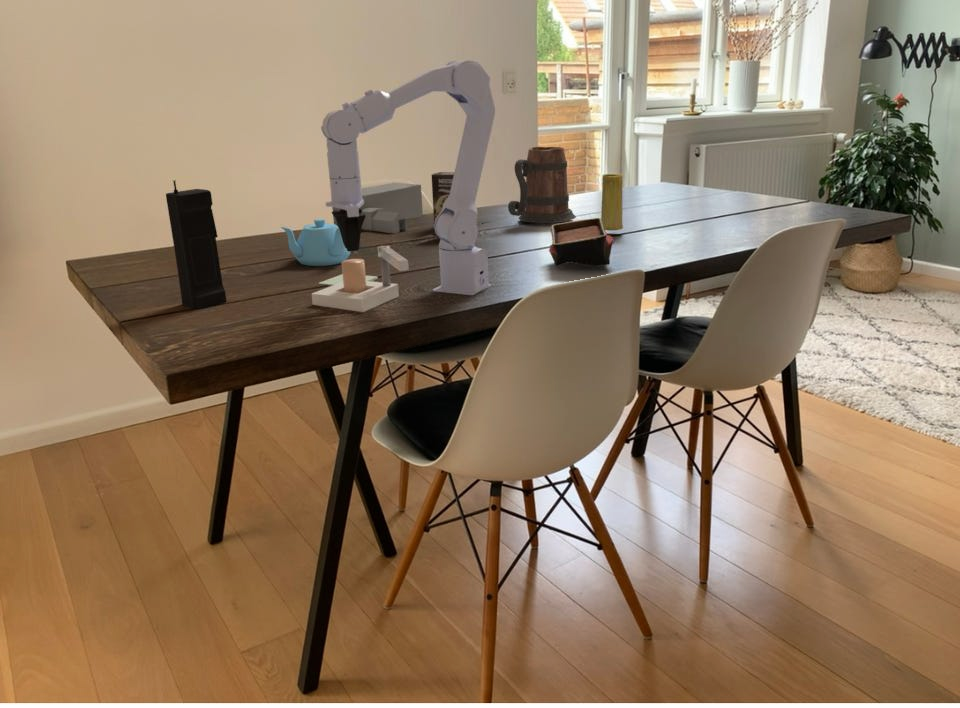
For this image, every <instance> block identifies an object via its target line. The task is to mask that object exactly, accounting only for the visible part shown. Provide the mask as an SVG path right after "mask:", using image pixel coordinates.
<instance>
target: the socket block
mask: <svg viewBox="0 0 960 708" xmlns="http://www.w3.org/2000/svg"><path fill="white" fill-rule="evenodd" d="M380 268H381V282H379V281H366V286H367V290H366V291H364V292H361V293H359V294H357V293H348V292H344V285H343V282H341V283H338V284H335V285H333V286H330V285H329V286H328V287H325V288H322V289H320V290H317V291H315V292H312V293H311V300H312V302H311V303H312V305H313V306H318V307H325V308H326V307H327V308H334V309H340V310H347V311H353V312H359V313H364V312H367V311H369V310H373V309H374V308H377V307H378V306H381V305H383V304H385V303H387V302H389V301H392V300H393V299H396V298H398V297H400V293H399V284H398V283H391V271H390V268H391V267H390V263H389V262H387V261H386V260H384V259H383V258H382V257H380Z"/></svg>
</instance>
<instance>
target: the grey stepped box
mask: <svg viewBox="0 0 960 708" xmlns="http://www.w3.org/2000/svg"><path fill="white" fill-rule="evenodd" d="M361 189H362V199H363V200H364V204H363V205H362V206H361V207H360V209H361V210H362V212H361V214H365V215H366V217H365V220H364V222H363V225H362V228H361V230H365V231H371V232H372V231H373V232H381V233H388V234H399V233H400V232H401V231H405V232H407V231H408V221H407V220H412V219H416V218H422V217H424V212H423V197H422V195H423V194H422V185H421V184H413V183H401V182H391V183H386V184H379V185H376V186H375V185H374V186H369V187H364V188H361ZM330 199H331V200H332V198H330ZM331 209H332V212H333V211H340V208H335V207H331ZM332 218H333V224H335V225H337V226H338V224H337V222H336V219H335V218H334V216H333V215H332Z"/></svg>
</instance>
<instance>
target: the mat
mask: <svg viewBox="0 0 960 708" xmlns="http://www.w3.org/2000/svg"><path fill="white" fill-rule="evenodd" d="M378 279H379V276H375V275H374V276H373V275H366V281H372V282H375V281H376V280H378ZM341 282H343V274H342V273H341V274H339V275H336V276H334V277H331V278H328V279H325V280H324V281H323V280H322V281H320V282H318V285H323V286H329V287H330V286H333V285H335V284H338V283H341Z"/></svg>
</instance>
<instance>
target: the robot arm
mask: <svg viewBox="0 0 960 708" xmlns="http://www.w3.org/2000/svg"><path fill="white" fill-rule="evenodd" d="M490 84H491V77H490V75H489V74H488V72H486V70H485V69H484V67H483V66H482V64H480V63H479V62H478V61H475V60H470V59H469V60H468V59H467V60H462V61H456V60H454V61H450V62H448V63H446V64H445V65H443V64H442V65H440V66H436V67H433V68H431V69H428V70H426V71H424V72H423V73H421V74H419V75H417V76H415V77H414V78H412V79H410V80H408V81H407V82H405V83H403V84H400V85H399V86H398V87H395V88H393V89H392V90H390V91H388V92H385V91H383V90H381V89H376V90H374V91H373V89H368V90H366V91H364V94H365V96H362V97H360V98H358V99H356V100H354V101H351V102H350V103H349V102H344V103H342V104H341V106H342V109H335V110H331V111H330V112H328V113H327V114H326V115H325V117H324V118H323V120H322V126H320V129H321V132H322V134H323V136H324V137H325V138H326V148H327V152H326V158H327V168H328V176H329V186H330V197H331V198H332V199H331V198H330V199H331V201H330V200H329V201H325V206H326V207H327V208H329V207H331V208H332V207H335V208H340V211H333V210H332V211H331V214H332V217H333V216H334V218H335V219H336V222H337V224H338V225H337V226H338V228H339V229H340V233H341V237H342V240H343V244H344V246H345V248H346V249H347V251H350V252H355V251H357V252H358V251H359V250H360V249H359V248H360V244H361V233H362V229H361V228H362V225H363V222H364V220H365V217H366V215H365V214H361V212H362V210H361V209H360V207H361V206H362V205H363V204H364V200H363V199H362V189H363V188H362V180H361V170H360V157H359V151H358V143H357V142H358V141H357V139H358V137H359V136H360V134H364V133H365V134H366V133H367V132H368V131H371V130H373V129H374V128H376V127H379V126H380V125H382V124H384V123H387V122H388V121H391V120H392V119H393V117H394V113H395V111H396V110H397V109H398V108H400V107H403V106H404V105H406V104H408V103H410V102H413V101H416V100H417V99H420V98H421V97H422V98H423V97H424V96H426V95H428V94H430V93H433V92H445V93H446V94H448V96H450V97H451V98H453V99H454V100H455V101H456V102H457V103H458V105H459V107H460V109H462V111H463V112H464V113H465V115H466V119H465V123H464V127H463V131H462V136H461V141H460V146H459V149H458V155H457V159H456V163H455V168H454V177H453V181H452V186H451V190H450V195H449V196H448V198H447V199H446V201H445V202H444V204H443V208H442V211H441V213H440V214H439V215H438V216H437V218H436V220H435V224H434V223H433V229H434V228H435V230H434V233H435V232H436V234H435V235H437V237H439V239H440V241H439V243H438V257H439V274H440V275H439V276H440V285H439V286H437V287H435V288H433V289H432V292H437V293H448V294H458V295H468V296H474V295H476V294H478V293H479V292H482V291H484V290H486V289H488V288H490V287H491V286H492V285H491V283H490V277H489V276H490V273H489V272H490V271H489V257H488V256H489V255H488V253H487V251H486V250H485V249H484V248H480V247H477V246H475V242H476V240H477V239H478V234H479V229H478V222H477V219H478V209H477V205H476V204H477V203H476V199H477V195H478V189H479V187H480V181H481V177H482V172H483V168H484V163H485V159H486V155H487V150H488V148H489V147H488V146H489V141H490V138H491V133H492V129H493V124H494V120H495V115H496V106H495V103H494V99H493V94H492V90H491V87H490Z"/></svg>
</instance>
